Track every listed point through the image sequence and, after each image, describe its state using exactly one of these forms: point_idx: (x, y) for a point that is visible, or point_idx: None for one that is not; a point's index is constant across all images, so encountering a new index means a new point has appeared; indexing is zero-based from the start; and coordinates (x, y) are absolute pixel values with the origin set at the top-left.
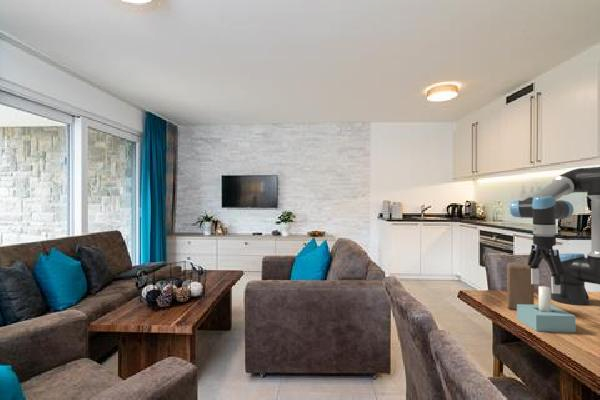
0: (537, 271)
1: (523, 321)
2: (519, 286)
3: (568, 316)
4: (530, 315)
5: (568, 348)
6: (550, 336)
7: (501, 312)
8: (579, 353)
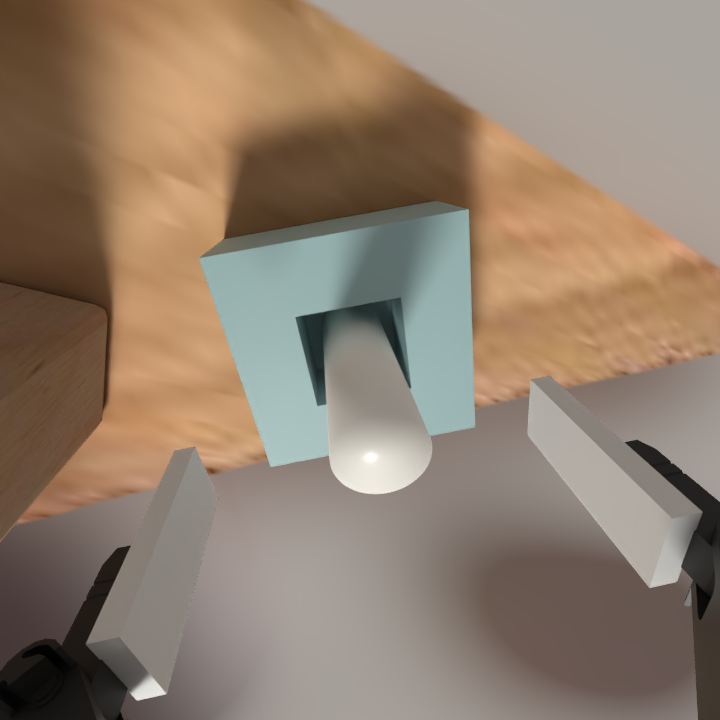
0: (147, 600)
1: None
2: (3, 479)
3: (469, 257)
4: None
5: (633, 328)
6: (507, 348)
7: None
8: (681, 308)
